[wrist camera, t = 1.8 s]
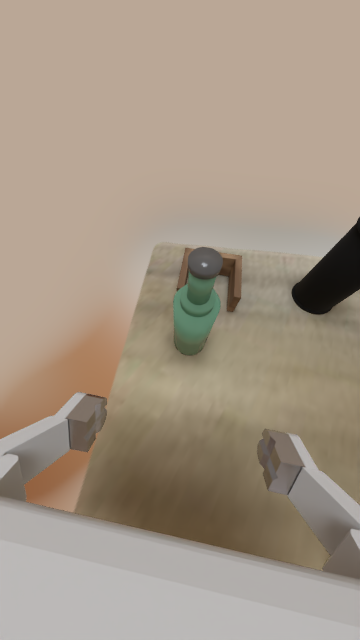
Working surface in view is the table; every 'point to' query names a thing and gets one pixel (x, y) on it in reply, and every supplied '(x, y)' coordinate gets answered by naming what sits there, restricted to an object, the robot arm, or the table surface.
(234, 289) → the u rest
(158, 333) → the table surface
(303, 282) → the aerosol can
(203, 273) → the bottle
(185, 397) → the table surface
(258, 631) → the robot arm
